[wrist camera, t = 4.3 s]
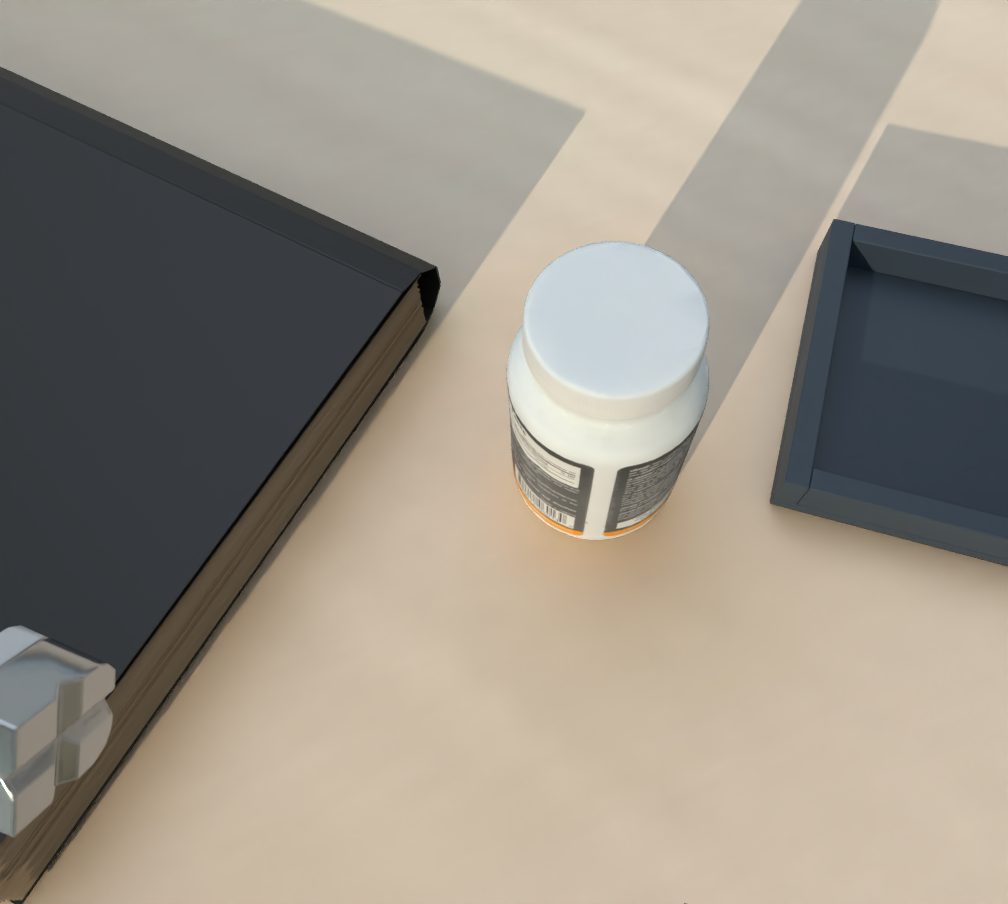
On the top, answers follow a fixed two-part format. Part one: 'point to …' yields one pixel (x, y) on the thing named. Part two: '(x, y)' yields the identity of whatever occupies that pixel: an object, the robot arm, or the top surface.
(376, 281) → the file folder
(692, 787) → the top surface
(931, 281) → the tray
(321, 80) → the top surface
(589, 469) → the pill bottle
